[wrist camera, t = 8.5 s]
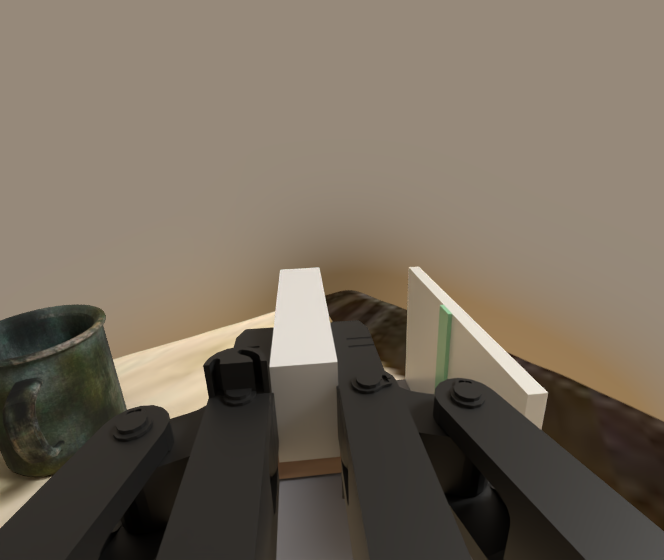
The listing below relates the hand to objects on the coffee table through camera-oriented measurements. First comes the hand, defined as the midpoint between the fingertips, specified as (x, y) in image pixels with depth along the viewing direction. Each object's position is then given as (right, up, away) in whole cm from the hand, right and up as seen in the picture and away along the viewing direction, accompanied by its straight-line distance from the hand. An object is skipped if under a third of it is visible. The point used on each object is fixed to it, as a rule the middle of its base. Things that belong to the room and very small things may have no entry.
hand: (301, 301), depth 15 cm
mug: (-24, -15, +21) cm, 35 cm away
